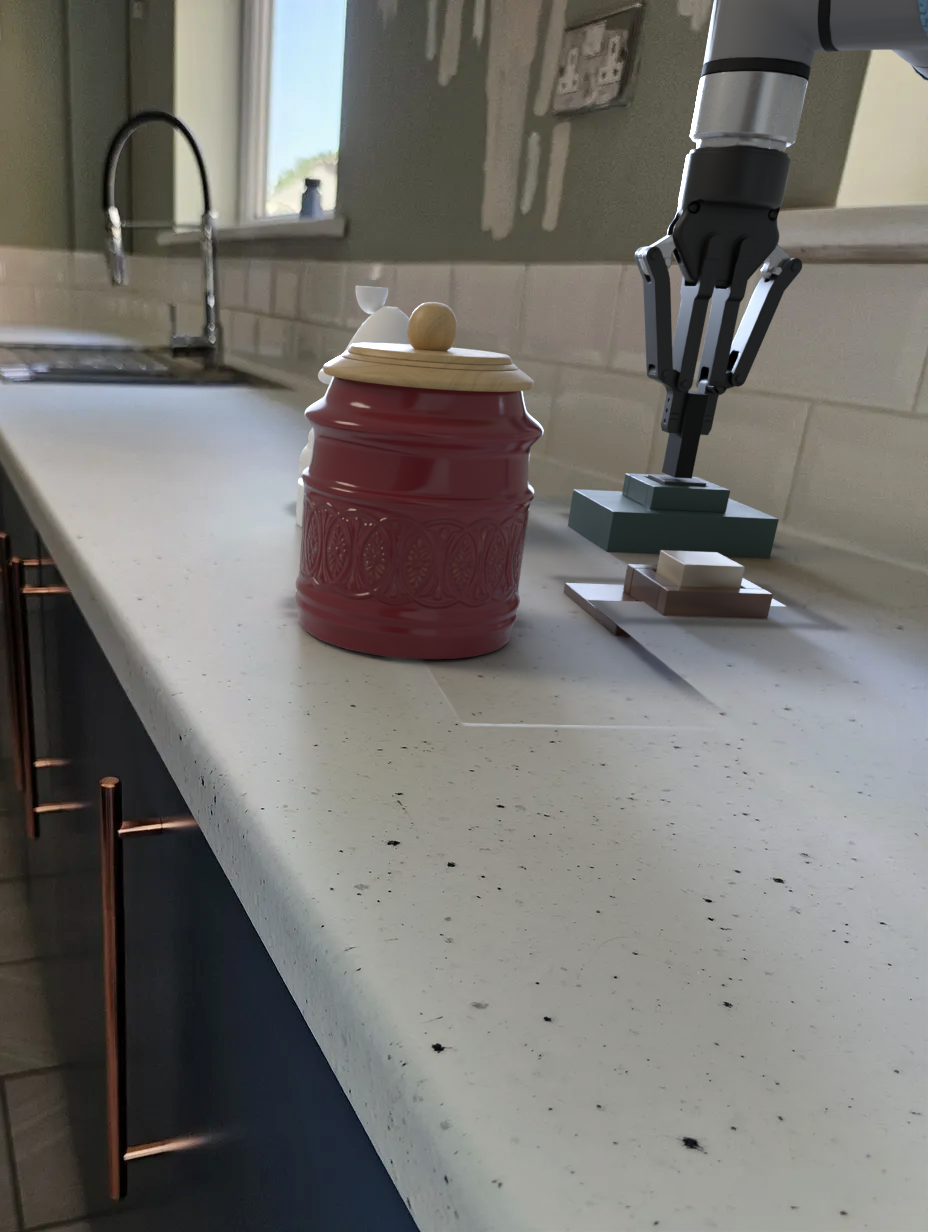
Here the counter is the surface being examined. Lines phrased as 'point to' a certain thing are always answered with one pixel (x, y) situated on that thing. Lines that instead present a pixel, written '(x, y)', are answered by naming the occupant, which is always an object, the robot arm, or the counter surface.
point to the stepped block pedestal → (672, 597)
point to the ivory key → (699, 569)
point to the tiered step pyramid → (671, 519)
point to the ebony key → (675, 480)
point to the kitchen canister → (416, 497)
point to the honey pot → (375, 329)
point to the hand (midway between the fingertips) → (676, 475)
